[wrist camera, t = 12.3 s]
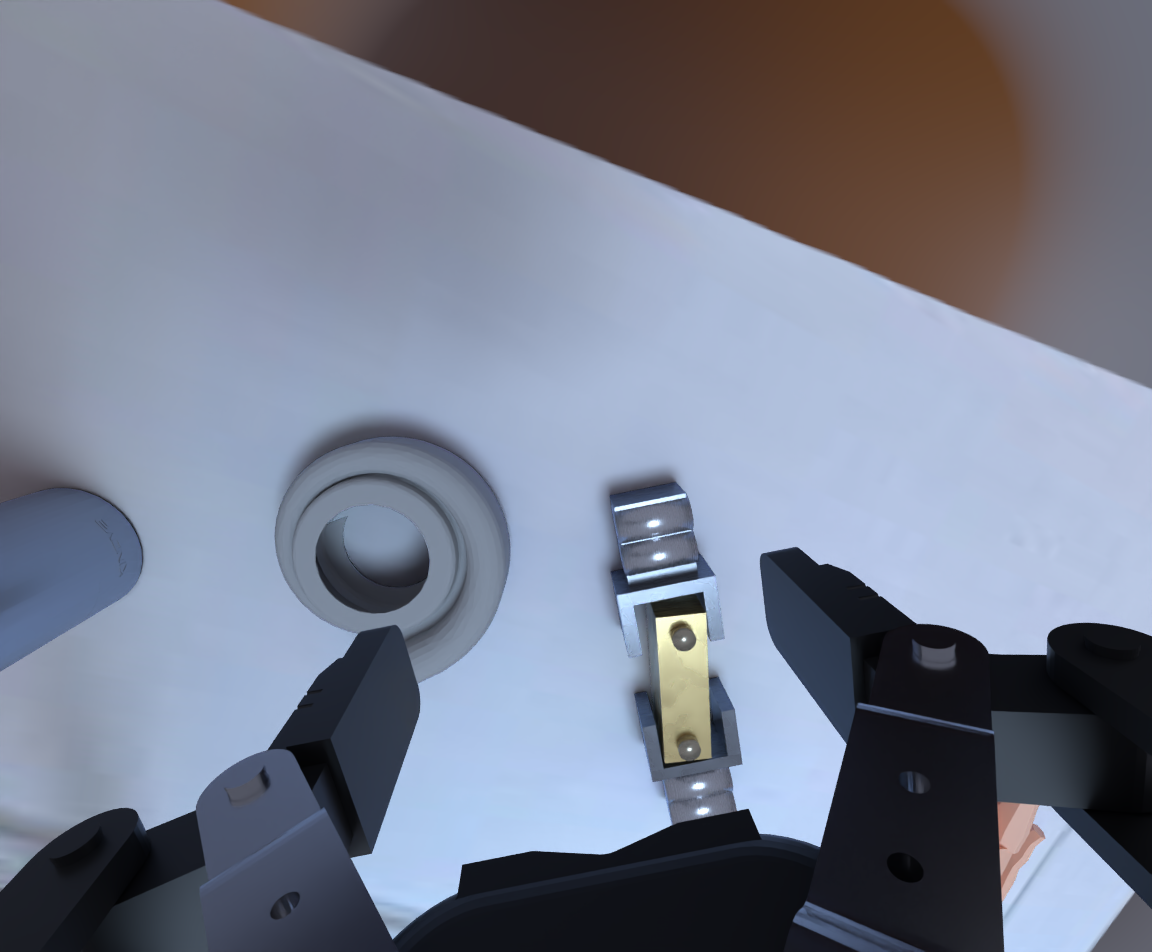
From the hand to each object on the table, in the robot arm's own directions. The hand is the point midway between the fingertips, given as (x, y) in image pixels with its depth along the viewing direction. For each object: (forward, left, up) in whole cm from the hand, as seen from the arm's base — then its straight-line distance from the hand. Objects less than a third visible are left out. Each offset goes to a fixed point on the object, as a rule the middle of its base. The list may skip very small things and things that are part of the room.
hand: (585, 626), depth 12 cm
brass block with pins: (+5, -20, -28) cm, 35 cm away
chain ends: (+5, -20, -28) cm, 35 cm away
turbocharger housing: (-13, -6, -28) cm, 32 cm away
